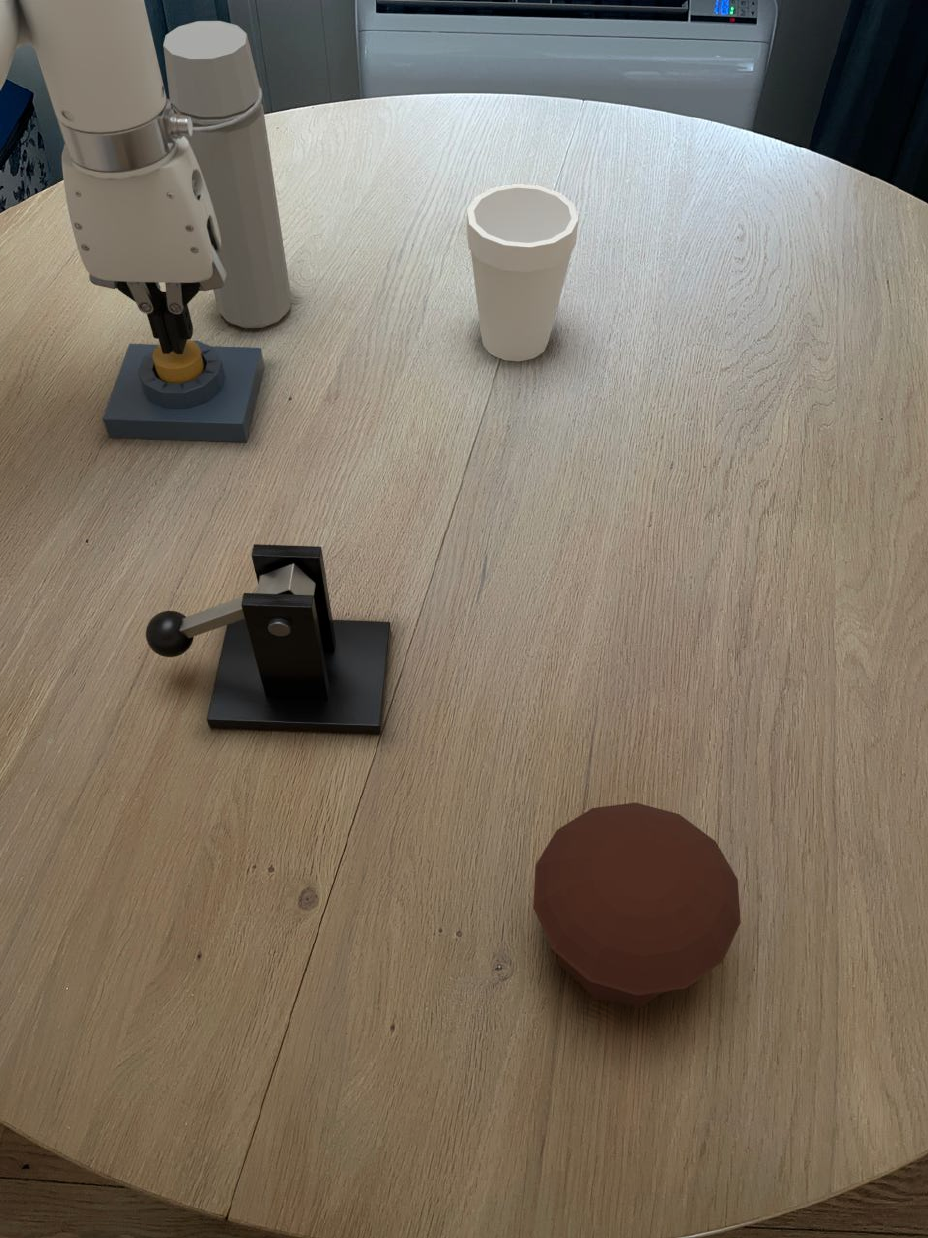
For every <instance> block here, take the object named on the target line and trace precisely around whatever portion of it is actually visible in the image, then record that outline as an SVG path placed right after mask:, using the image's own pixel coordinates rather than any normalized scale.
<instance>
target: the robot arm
mask: <svg viewBox="0 0 928 1238" xmlns="http://www.w3.org/2000/svg"><path fill="white" fill-rule="evenodd" d="M150 25H151V24H150V21H149V16H148V12H147V8H146V3H145V0H0V91H2V88H3V86H4V85H5V83H6V80H7V77H8V75H9V72H10V68H11V66H12V63H13V61H14V56H15V53H16V51H17V50H18V49H19V48H21V47H22V46H25V45H26V46H27V45H28V46H30V47H32V48H33V50H34V51H35V54H36V59H37V61H38V63H39V67H40V69H41V73H42V76H43V79H44V82H45V86H46V89H47V92H48V95H49V98H50V102H51V105H52V108H53V111H54V115H55V117H56V121H57V123H58V126H59V129H60V132H61V136H62V139H63V142H64V145H63V150H62V152H61V168H62V169H61V170H62V179H63V185H64V187H63V188H64V192H65V199H66V205H67V206H66V207H67V210H68V215H69V220H70V224H71V228H72V233H73V236H74V239H75V243H76V247H77V249H78V254H79V257H80V259H81V261H82V264H83V266H84V268H85V270H86V271H87V273H88V278H89V282H90V283H91V284H92V285H95V286H98V287H103V288H107V289H112V290H116V289H117V290H118V291H119V292H120V293H122V294H123V295H124V296H126V297H127V298H129V299H130V300H131V301H133V302H135V304H136V306H137V309H139V311H140V312H141V313H143V314H146V317H147V320H148V322H149V327H150V330H151V333H152V337H153V338H154V339H157V340H158V342H159V345H160V346H161V349H162V352H163V354H170V352H172V351H173V352H175V353H176V354H183V351H184V348H185V345H186V342H187V339H188V340H192V338H193V335H194V325H193V322H192V317H191V313H190V310H189V306H188V304H189V303H190V302H191V301H192V300H193V299H194V298H195V296H197V294H198V293H199V292H208V291H214V290H213V289H218V288H222V287H223V286H224V283H225V280H226V276H227V274H226V271H225V269H224V267H223V265H222V263H221V261H220V259H219V257H218V255H217V253H216V252H220V250H221V236H220V231H219V227H218V223H217V219H216V215H215V212H214V208H213V205H212V202H211V199H210V195H209V192H208V189H207V186H206V183H205V180H204V178H203V175H202V172H201V170H200V167H199V164H198V162H197V160H196V157H195V155H194V153H193V150H192V148H191V146H190V144H189V142H188V140H187V139H186V138H185V137H192V134H193V124H192V120H191V117H190V116H180V114H177V113H176V111H175V110H174V109H173V106H171V103H170V98H167V94H166V89H165V86H164V82H163V77H162V73H161V69H160V65H159V60H158V55H157V52H156V47H155V44H154V43H155V42H154V38H153V34H152V30H151V26H150ZM160 283H164V284H165V285H164V287H165V291H162V290H161V285H160Z"/></svg>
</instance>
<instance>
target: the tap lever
mask: <svg viewBox="0 0 928 1238" xmlns="http://www.w3.org/2000/svg"><path fill="white" fill-rule="evenodd" d="M315 585H316V584H315V583H314V582H313V581H312V580H311V579H310V578H309V577H308V576H307V575H306V574H305V573H304V572H303V571H302V570H301V569H299V568H298V567H297V566H296V565H295V564H294V563H293V564H290V565H288V566H285V567H282V568H279V569H277V570H274V571H271V572H269V573H266V574H263V575H261V576H260V579H259V584H258V583H257V588H256V591H254V592H253V593H263V594H291V595H313V596H314V591H315ZM242 598H243V596H241V597H237V598H235V599H232V600H229V601H227V602H223V603H222V604H218V605H215V606H213V607H210V608H207V609H205V610H201V611H199V612H196V613H194V614H191V615H188V616H186V615H185V614H183V613H182V612H179V611H176V610H164V611H161V612H159V613H157V614H155V615H154V616H153V617H152V618H151V619H150V620H149V622H148V623H147V626H146V629H145V639H146V642H147V645H148V646H149V648H150V649H151V650H152V651H153V652H154V653H155V654H156V655H159V656H161V657H163V658H175V657H179V656H181V655H183V654H185V653H186V652H187V651H188V650H189V649H190V648H191V647H192V644H193V642H194V639H195V637H197V636H200V635H203V634H205V633H208V632H211V631H213V630H217V629H219V628H222V627H226V626H227V625H228V624H231V623H234V622H237V621H239V620H242V619H245V617H244V614H243V610H242V606H241V603H242Z"/></svg>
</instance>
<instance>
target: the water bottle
mask: <svg viewBox="0 0 928 1238" xmlns="http://www.w3.org/2000/svg"><path fill="white" fill-rule="evenodd" d="M163 40H164V41H163V45H162V47H163V55H164V62H165V72H166V78H167V88H168V95H169V99H170V103H171V107H172V109H173V110H174V112H175V113H176V114H180V116H190V117H191V120H192V124H193V134H192V137H185V138H186V139H187V140H188V142H189V144H190V146H191V148H192V150H193V153H194V155H195V157H196V160H197V162H198V164H199V167H200V170H201V172H202V175H203V178H204V180H205V183H206V186H207V189H208V192H209V195H210V199H211V202H212V205H213V208H214V212H215V215H216V219H217V223H218V227H219V231H220V236H221V250H220V252H216V253H217V255H218V257H219V259H220V261H221V263H222V265H223V267H224V269H225V271H226V274H227V276H226V280H225V283H224V286H223V287H222V288H218V289H213V290H212V291H213V295H214V299H215V304H216V308H217V311H218V312H219V313H220V315H221V316H222V317H223V319H224V320H225V321H226V322H228V323H229V324H231V325H234V326H237V327H239V328H243V329H263V328H265V327H267V326H270V325H273V324H276V323H278V322H280V321H281V320H282V318H283V317H284V316H286V315H287V313H288V312H289V311H290V309H291V304H292V294H291V287H290V279H289V273H288V266H287V259H286V252H285V247H284V238H283V232H282V226H281V218H280V212H279V206H278V199H277V191H276V186H275V185H276V184H275V178H274V171H273V165H272V158H271V153H270V151H271V150H270V145H269V139H268V131H267V125H266V119H265V118H266V116H265V111H264V104H263V103H262V101H263V91H262V87H261V85H260V82H259V78H258V74H257V69H256V66H255V62H254V58H253V54H252V49H251V45H250V41H249V37H248V33H247V32H246V31H244V30H243V29H242V28H241V27H240V26H239V25H237V24H234V23H230V22H226V21H222V20H198V21H194V22H190V23H187V24H183V25H179V26H177V27H176V28H174V29H173V30H171V31H170V32H168V33H167V34H165V37H164V39H163Z"/></svg>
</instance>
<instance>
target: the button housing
mask: <svg viewBox="0 0 928 1238" xmlns="http://www.w3.org/2000/svg"><path fill="white" fill-rule="evenodd" d="M192 341H193V342H195V343H196V344H197V345H198V346H199V348H200V351H201V355H202V360H203V364H204V369H203V372H202V374H201V375H200V376H198V377H197V378H196V379H195V380H192V381H189V382H186V383H182V384H179V383H167V382H164V381H163V380H161V379H160V378H159V376H158V374H157V371H156V367H155V364H154V360H153V352H154V350H155V349H156V347H157V346H159V345H160V344H153V343H152V344H151V343H129V344H128V346H127V349H126V352H125V354H124V357H123V360H122V363H121V366H120V368H119V371H118V374H117V377H116V380H115V382H114V386H113V388H112V391H111V394H110V397H109V399H108V401H107V405H106V408H105V410H104V414H103V416H102V421H103V425H104V427H105V430H106V433H107V436H108V438H110V439H139V440H140V439H141V440H167V441H168V440H169V441H172V440H173V441H198V442H199V441H201V442H230V443H247V442H248V439H249V435H250V430H251V426H252V421H253V417H254V414H255V413H254V412H255V408H256V404H257V400H258V395H259V391H260V387H261V384H262V383H261V382H262V380H263V379H262V378H263V375H264V369H265V363H264V357H263V351H262V348H261V347H245V346H217V345H216V346H213V345H209V344H206V343H204V342H202V341H201V340H192Z"/></svg>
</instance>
